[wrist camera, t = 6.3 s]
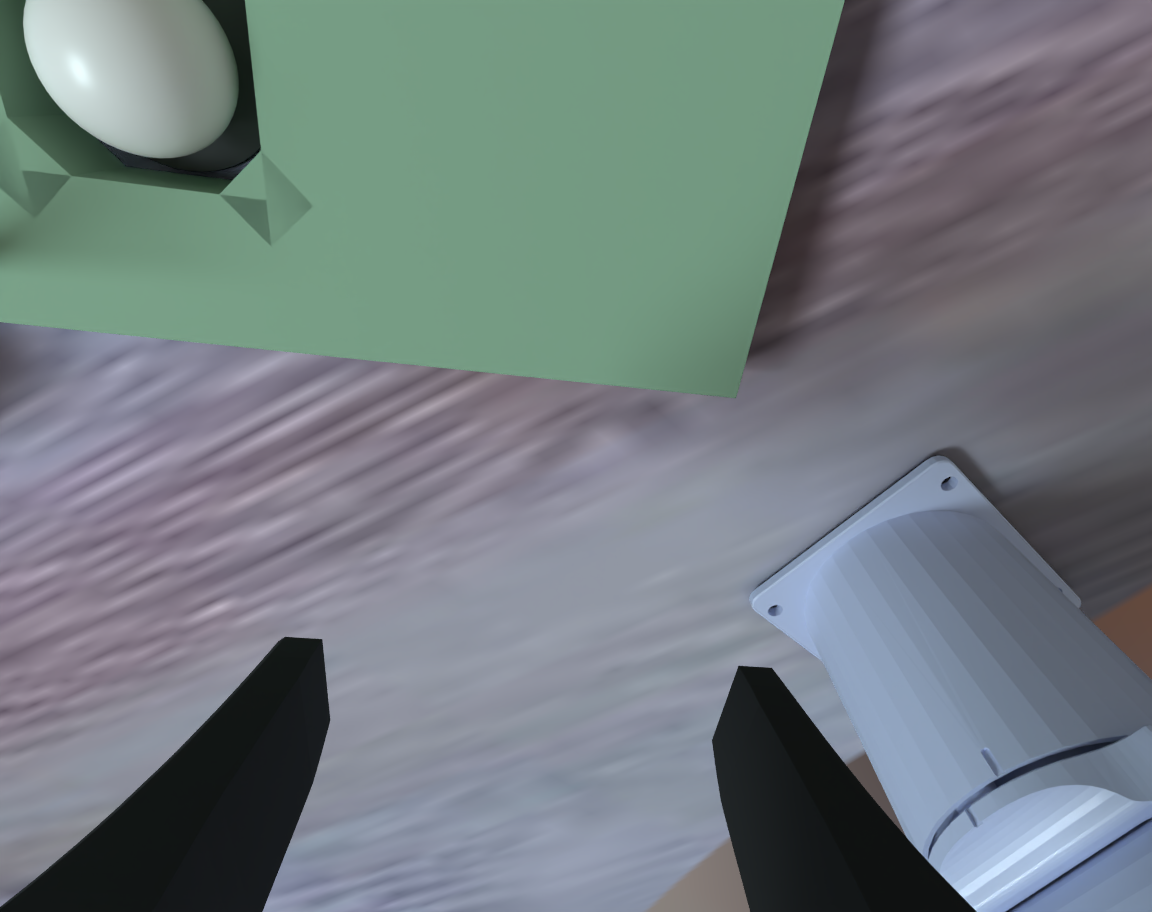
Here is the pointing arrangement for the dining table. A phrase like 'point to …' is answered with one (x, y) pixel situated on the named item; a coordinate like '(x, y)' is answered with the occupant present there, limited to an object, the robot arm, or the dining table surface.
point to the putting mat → (440, 188)
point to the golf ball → (136, 70)
